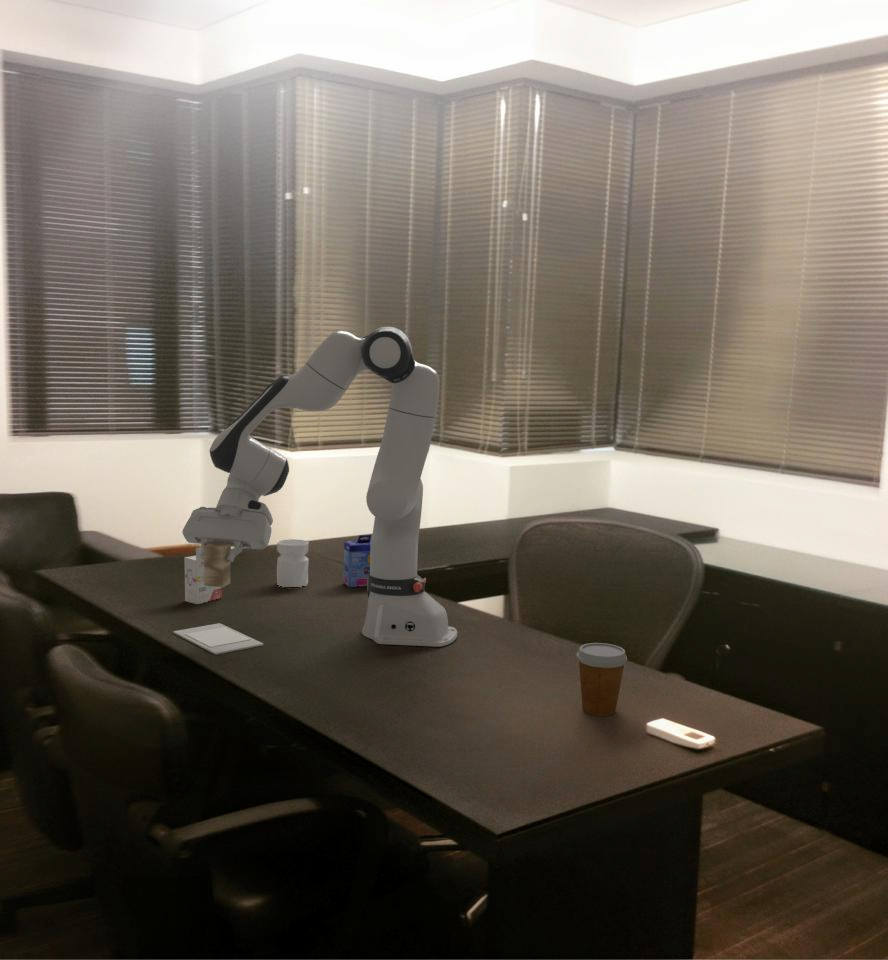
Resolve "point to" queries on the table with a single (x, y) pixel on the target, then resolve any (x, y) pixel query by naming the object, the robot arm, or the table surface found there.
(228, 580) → the wooden block
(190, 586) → the ink cartridge box
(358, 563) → the ink cartridge box
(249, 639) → the grey mat
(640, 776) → the table surface
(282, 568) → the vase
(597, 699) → the disposable coffee cup
